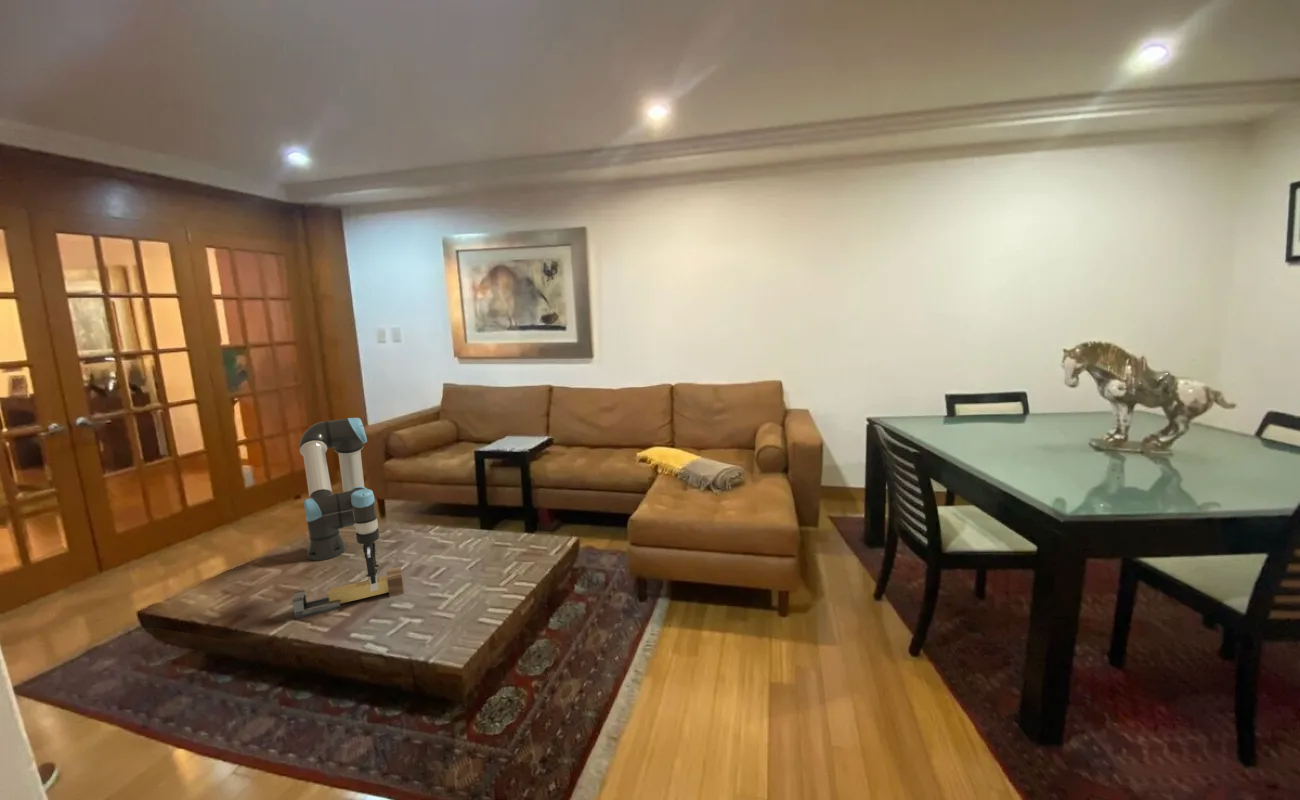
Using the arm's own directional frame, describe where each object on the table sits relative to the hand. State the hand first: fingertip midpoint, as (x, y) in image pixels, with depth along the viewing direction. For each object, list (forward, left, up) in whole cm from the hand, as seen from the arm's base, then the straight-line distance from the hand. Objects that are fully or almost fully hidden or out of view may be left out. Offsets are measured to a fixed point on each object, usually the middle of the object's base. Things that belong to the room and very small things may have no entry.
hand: (374, 587), depth 202 cm
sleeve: (0, -19, -4) cm, 19 cm away
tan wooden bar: (0, -4, -2) cm, 5 cm away
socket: (0, +7, -4) cm, 8 cm away
